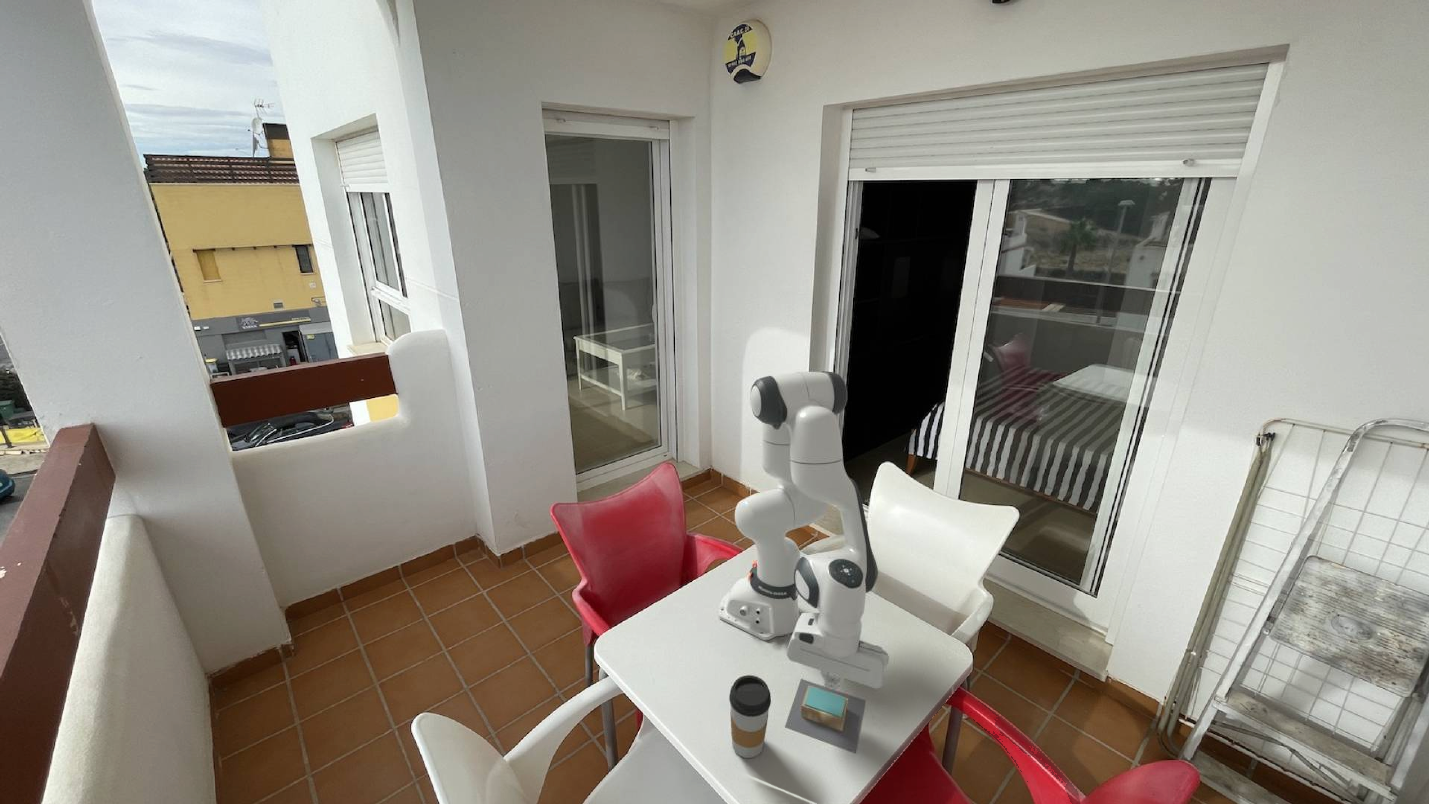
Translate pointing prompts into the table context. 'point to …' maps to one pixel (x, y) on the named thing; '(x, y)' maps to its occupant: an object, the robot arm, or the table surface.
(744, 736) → the coffee cup
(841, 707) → the plaque
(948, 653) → the table surface
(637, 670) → the table surface
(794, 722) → the mat
